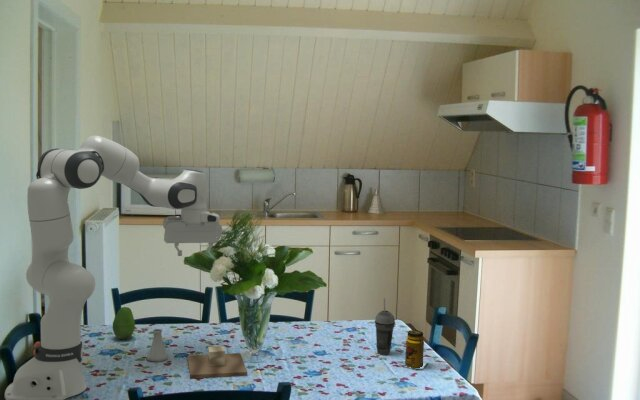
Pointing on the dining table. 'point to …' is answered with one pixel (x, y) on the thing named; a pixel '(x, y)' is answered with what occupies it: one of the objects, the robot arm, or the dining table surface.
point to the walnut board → (202, 369)
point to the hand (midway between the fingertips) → (193, 255)
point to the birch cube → (216, 356)
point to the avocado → (124, 323)
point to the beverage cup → (384, 331)
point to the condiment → (414, 349)
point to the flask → (157, 348)
